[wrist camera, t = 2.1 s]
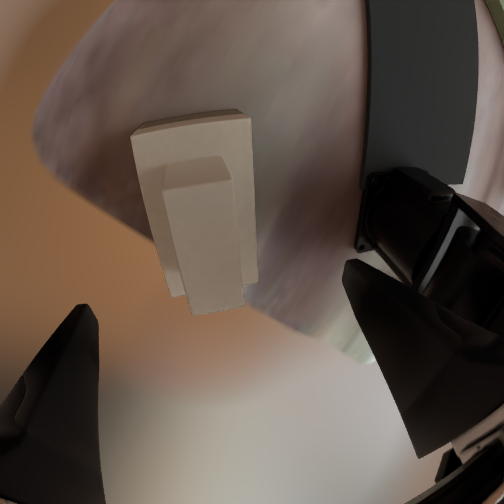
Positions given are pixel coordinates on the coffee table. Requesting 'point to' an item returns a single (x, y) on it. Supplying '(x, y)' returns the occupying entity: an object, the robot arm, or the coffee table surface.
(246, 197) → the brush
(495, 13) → the tray
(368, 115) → the mat
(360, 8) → the coffee table surface
